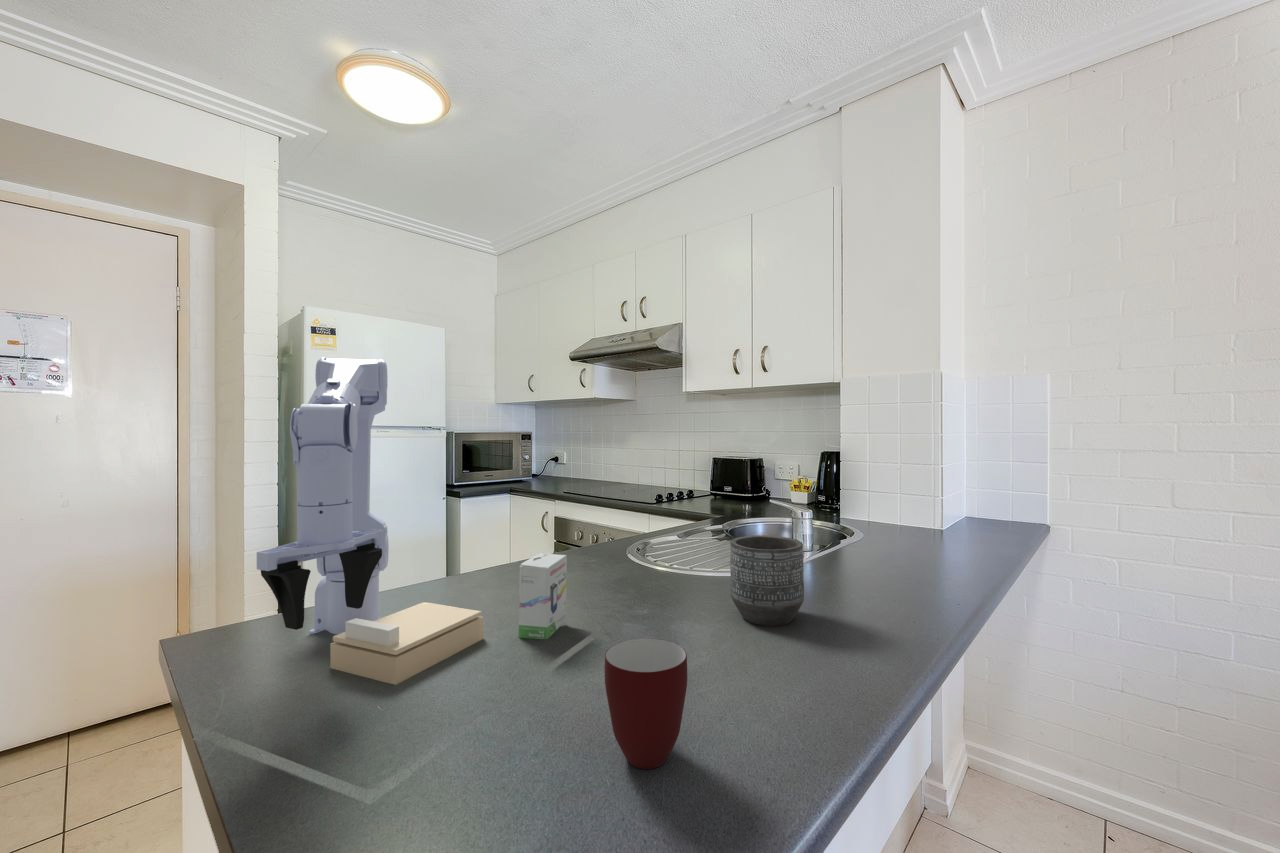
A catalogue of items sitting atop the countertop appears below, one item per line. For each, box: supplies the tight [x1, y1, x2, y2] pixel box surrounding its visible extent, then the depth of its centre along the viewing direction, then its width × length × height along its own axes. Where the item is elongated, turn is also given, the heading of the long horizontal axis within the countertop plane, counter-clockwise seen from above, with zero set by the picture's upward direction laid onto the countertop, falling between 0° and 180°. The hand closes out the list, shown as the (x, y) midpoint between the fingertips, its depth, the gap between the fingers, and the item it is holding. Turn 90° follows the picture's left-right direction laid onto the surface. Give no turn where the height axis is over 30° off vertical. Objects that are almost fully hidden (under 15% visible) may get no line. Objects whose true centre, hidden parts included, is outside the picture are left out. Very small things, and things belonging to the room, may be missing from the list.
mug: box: [604, 638, 688, 770], centre depth 53 cm, size 10×8×10 cm
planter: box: [729, 535, 805, 627], centre depth 91 cm, size 12×12×13 cm
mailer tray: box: [329, 616, 485, 686], centre depth 76 cm, size 12×16×4 cm
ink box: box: [518, 552, 568, 640], centre depth 84 cm, size 9×5×12 cm, turn 168°
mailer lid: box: [332, 601, 482, 655], centre depth 76 cm, size 12×16×3 cm
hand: (325, 616), depth 64 cm, fingers open, 7 cm apart
